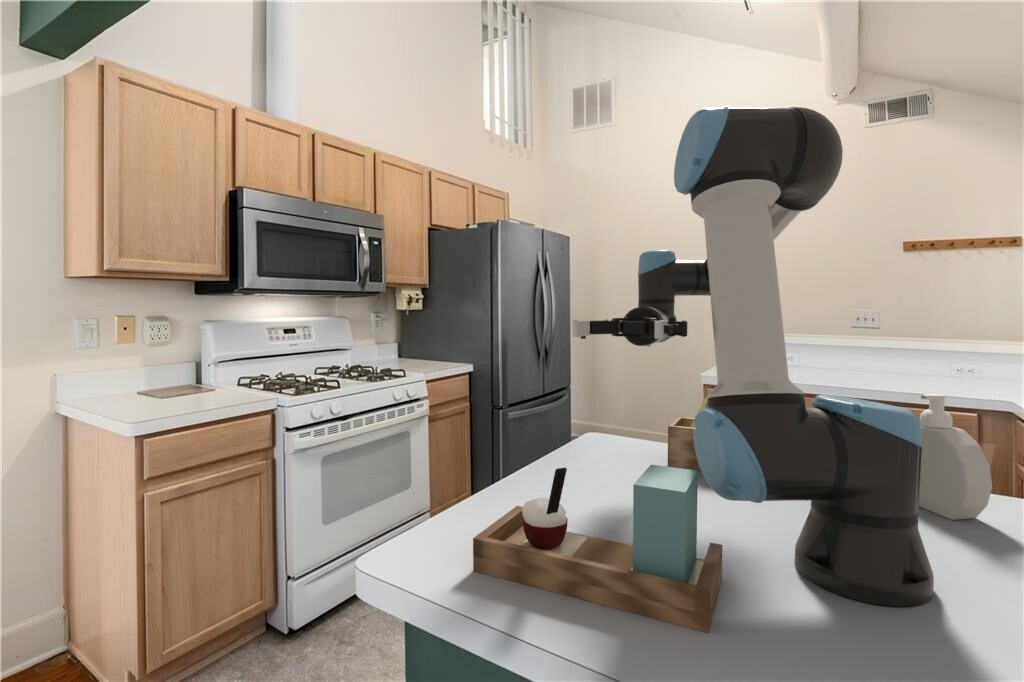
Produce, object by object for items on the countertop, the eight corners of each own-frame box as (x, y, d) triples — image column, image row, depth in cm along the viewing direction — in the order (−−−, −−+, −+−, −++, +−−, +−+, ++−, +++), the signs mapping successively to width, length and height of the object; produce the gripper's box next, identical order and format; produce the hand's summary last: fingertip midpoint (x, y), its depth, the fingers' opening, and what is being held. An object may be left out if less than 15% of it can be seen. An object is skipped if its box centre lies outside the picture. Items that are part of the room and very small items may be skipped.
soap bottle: (879, 492, 100) (883, 388, 99) (904, 490, 101) (908, 387, 100) (963, 526, 85) (969, 403, 83) (991, 524, 85) (997, 402, 84)
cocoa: (522, 534, 78) (519, 453, 78) (565, 532, 78) (561, 451, 78) (525, 562, 69) (521, 470, 68) (573, 559, 69) (569, 468, 68)
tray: (721, 578, 69) (722, 544, 68) (708, 632, 57) (709, 592, 57) (517, 534, 83) (516, 505, 82) (473, 570, 71) (473, 538, 71)
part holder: (801, 468, 115) (802, 427, 115) (802, 483, 105) (803, 439, 105) (677, 453, 128) (677, 416, 127) (667, 466, 118) (668, 426, 117)
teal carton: (696, 561, 69) (697, 470, 68) (684, 594, 61) (685, 492, 60) (648, 551, 72) (649, 464, 71) (631, 581, 64) (632, 484, 63)
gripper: (711, 346, 99) (694, 354, 80) (585, 343, 110) (544, 350, 91) (712, 306, 98) (695, 305, 80) (585, 307, 110) (543, 307, 91)
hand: (614, 329), depth 85 cm, fingers open, 13 cm apart
